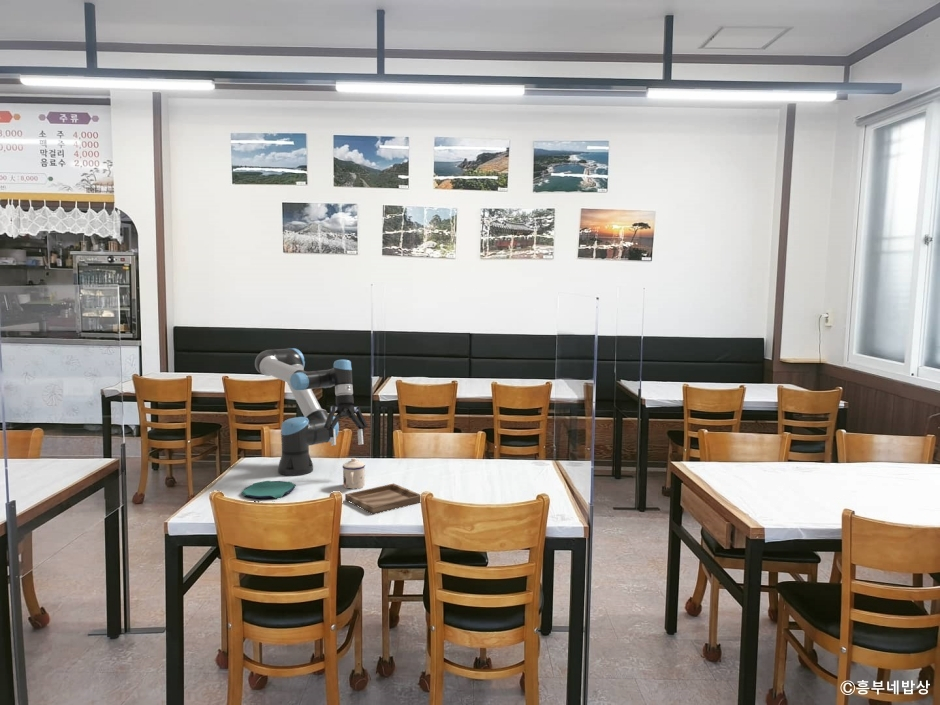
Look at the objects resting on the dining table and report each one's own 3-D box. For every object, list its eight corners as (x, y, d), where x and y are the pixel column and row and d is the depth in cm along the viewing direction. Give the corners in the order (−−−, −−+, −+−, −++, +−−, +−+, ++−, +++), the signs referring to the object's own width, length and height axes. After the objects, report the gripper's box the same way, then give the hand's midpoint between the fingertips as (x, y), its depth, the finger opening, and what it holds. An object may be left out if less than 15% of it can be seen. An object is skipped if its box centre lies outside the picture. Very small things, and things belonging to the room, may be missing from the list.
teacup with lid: (344, 482, 268) (344, 455, 267) (366, 482, 268) (366, 455, 267) (339, 491, 256) (339, 463, 255) (362, 491, 256) (362, 463, 255)
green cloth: (303, 486, 264) (302, 480, 263) (270, 512, 234) (270, 505, 234) (257, 484, 266) (257, 479, 266) (219, 509, 237) (219, 503, 237)
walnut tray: (345, 500, 245) (345, 494, 245) (393, 489, 259) (393, 483, 259) (372, 514, 230) (372, 507, 230) (422, 501, 244) (422, 495, 244)
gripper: (323, 393, 265) (326, 444, 260) (373, 394, 282) (376, 443, 277) (314, 396, 270) (316, 446, 265) (363, 397, 287) (366, 445, 283)
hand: (347, 444), depth 271 cm, fingers open, 13 cm apart
